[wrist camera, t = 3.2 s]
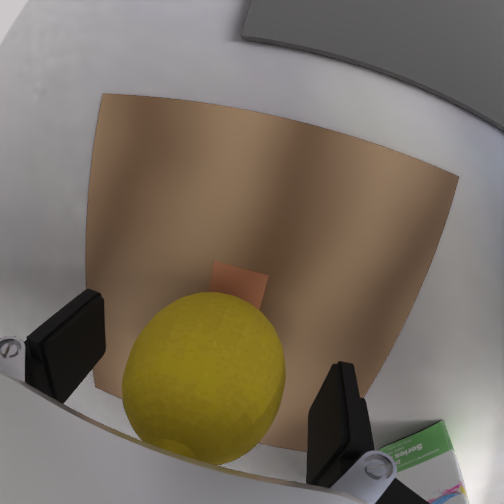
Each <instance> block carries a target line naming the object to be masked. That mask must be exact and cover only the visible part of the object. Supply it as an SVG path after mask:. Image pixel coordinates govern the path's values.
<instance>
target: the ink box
mask: <svg viewBox="0 0 504 504" xmlns="http://www.w3.org/2000/svg"><path fill="white" fill-rule="evenodd" d="M380 451H381V452H384V453H386V454H388V455H389V456H390V457H392V458H393V460H394V461H395V463H396V466H397V474H396V476H395V478H397V479H398V480H399V481H401V482H402V483H403V484H405V485H406V486H407V487H408V488H410V489H411V490H412V491H414V492H415V493H416V494H418V495H419V496H420V497H422V498H423V499H424V500H426V501H427V502H429V503H430V504H469V501H468V496H467V492H466V488H465V484H464V480H463V477H462V473H461V470H460V467H459V463H458V460H457V457H456V454H455V451H454V449H453V446H452V443H451V440H450V437H449V435H448V432H447V429H446V426H445V422H444V420H442V421H440V422H438V423H437V424H435V425H432V426H431V427H429V428H427V429H425V430H423V431H420V432H418V433H416V434H414V435H412V436H409V437H407V438H404V439H402V440H399V441H397V442H395V443H392V444H390V445H387V446H385V447H382V448H381V449H380Z"/></svg>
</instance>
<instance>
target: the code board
mask: <svg viewBox="0 0 504 504" xmlns="http://www.w3.org/2000/svg"><path fill="white" fill-rule="evenodd" d="M458 179H459V177H458V176H456V175H454V174H452V173H449V172H447V171H445V170H442V169H440V168H438V167H435V166H433V165H431V164H428V163H426V162H423V161H421V160H418V159H416V158H413V157H410V156H408V155H405V154H402V153H400V152H397V151H394V150H392V149H389V148H386V147H383V146H380V145H377V144H374V143H371V142H368V141H365V140H362V139H359V138H356V137H353V136H349V135H346V134H343V133H339V132H336V131H332V130H329V129H325V128H322V127H318V126H314V125H310V124H307V123H303V122H299V121H295V120H290V119H286V118H282V117H278V116H273V115H268V114H264V113H259V112H254V111H249V110H244V109H238V108H233V107H227V106H221V105H215V104H208V103H201V102H194V101H187V100H179V99H170V98H160V97H149V96H136V95H120V94H103V96H102V100H101V105H100V111H99V116H98V122H97V128H96V134H95V140H94V147H93V155H92V163H91V172H90V181H89V192H88V206H87V224H86V289H92V290H94V291H97V292H100V293H101V295H102V297H103V298H104V311H105V336H106V351H105V354H104V355H103V357H102V358H101V359H100V360H99V361H98V363H97V364H96V365H95V366H94V367H93V374H94V380H95V387H96V388H99V389H101V390H103V391H105V392H107V393H109V394H112V395H114V396H116V397H118V398H121V399H123V397H122V378H123V374H124V370H125V366H126V363H127V360H128V357H129V354H130V351H131V349H132V347H133V344H134V342H135V340H136V339H137V337H138V335H139V334H140V332H141V331H142V330H143V329H144V327H145V326H146V325H147V324H148V323H149V321H150V320H151V319H152V318H153V317H154V316H155V315H156V314H157V313H158V312H159V311H160V310H162V309H163V308H165V307H166V306H168V305H169V304H171V303H173V302H174V301H176V300H178V299H180V298H182V297H185V296H189V295H193V294H197V293H201V292H219V293H224V294H228V295H233V296H236V297H238V298H240V299H242V300H245V301H247V302H249V303H250V304H251V305H253V306H254V307H255V308H257V309H258V310H259V311H261V312H262V313H263V314H264V315H265V317H266V318H267V319H268V320H269V321H270V323H271V324H272V325H273V327H274V328H275V330H276V333H277V335H278V337H279V339H280V341H281V344H282V347H283V352H284V359H285V367H286V381H285V387H284V391H283V396H282V400H281V404H280V407H279V410H278V412H277V415H276V417H275V419H274V421H273V423H272V425H271V426H270V428H269V430H268V431H267V432H266V434H265V435H264V437H263V438H262V439H261V440H260V442H259V443H261V444H265V445H270V446H275V447H280V448H286V449H291V450H297V451H304V452H307V441H308V413H309V409H310V407H311V405H312V403H313V402H314V400H315V398H316V396H317V394H318V392H319V390H320V388H321V386H322V384H323V382H324V380H325V378H326V376H327V374H328V372H329V370H330V368H331V366H332V364H337V363H338V361H343V362H348V363H353V364H354V368H355V373H356V378H357V383H358V389H359V394H360V398H364V396H365V394H366V393H367V391H368V389H369V388H370V386H371V384H372V383H373V381H374V379H375V378H376V376H377V374H378V373H379V371H380V369H381V367H382V365H383V364H384V362H385V360H386V358H387V356H388V355H389V353H390V351H391V349H392V347H393V345H394V343H395V341H396V339H397V337H398V336H399V334H400V332H401V330H402V328H403V326H404V323H405V321H406V319H407V317H408V315H409V313H410V311H411V309H412V307H413V304H414V302H415V300H416V298H417V295H418V293H419V291H420V289H421V286H422V284H423V282H424V279H425V277H426V274H427V272H428V269H429V267H430V264H431V262H432V259H433V257H434V254H435V251H436V249H437V246H438V243H439V240H440V238H441V235H442V232H443V229H444V226H445V223H446V220H447V217H448V214H449V210H450V207H451V204H452V201H453V197H454V194H455V190H456V187H457V183H458Z"/></svg>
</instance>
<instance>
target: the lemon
mask: <svg viewBox="0 0 504 504" xmlns="http://www.w3.org/2000/svg"><path fill="white" fill-rule="evenodd" d="M285 381H286V367H285V359H284V352H283V347H282V344H281V341H280V339H279V337H278V335H277V333H276V330H275V328H274V327H273V325H272V324H271V323H270V321H269V320H268V319H267V318H266V317H265V315H264V314H263V313H262V312H261V311H259V310H258V309H257V308H255V307H254V306H253V305H251V304H250V303H249V302H247V301H245V300H242V299H240V298H238V297H236V296H233V295H228V294H224V293H219V292H201V293H197V294H193V295H189V296H185V297H182V298H180V299H178V300H176V301H174V302H173V303H171V304H169V305H168V306H166V307H165V308H163V309H162V310H160V311H159V312H158V313H157V314H156V315H155V316H154V317H153V318H152V319H151V320H150V321H149V323H148V324H147V325H146V326H145V327H144V329H143V330H142V331H141V332H140V334H139V335H138V337H137V339H136V340H135V342H134V344H133V347H132V349H131V351H130V354H129V357H128V360H127V363H126V366H125V370H124V374H123V378H122V397H123V405H124V409H125V412H126V415H127V417H128V419H129V422H130V424H131V426H132V428H133V429H134V431H135V432H136V434H137V435H138V436H139V438H140V439H141V440H142V441H143V442H146V443H148V444H151V445H153V446H156V447H159V448H162V449H164V450H167V451H170V452H173V453H176V454H179V455H182V456H185V457H189V458H192V459H195V460H198V461H202V462H205V463H209V464H212V465H216V466H217V465H221V464H224V463H228V462H231V461H233V460H236V459H238V458H240V457H241V456H243V455H244V454H246V453H248V452H249V451H250V450H252V449H253V448H254V447H255V446H256V445H257V444H258V443H259V442H260V440H261V439H262V438H263V437H264V435H265V434H266V432H267V431H268V430H269V428H270V426H271V425H272V423H273V421H274V419H275V417H276V415H277V412H278V410H279V407H280V404H281V400H282V396H283V391H284V387H285Z"/></svg>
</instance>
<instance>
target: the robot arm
mask: <svg viewBox="0 0 504 504" xmlns="http://www.w3.org/2000/svg"><path fill="white" fill-rule="evenodd" d="M105 351H106V336H105V311H104V298H103V297H102V295H101V293H100V292H97V291H94V290H92V289H86V290H85V291H83V292H82V293H81V294H80V295H78V296H77V297H76V298H74V299H73V300H72V301H71V302H69V303H68V304H67V305H65V306H64V307H63V308H62V309H60V310H59V311H58V312H57V313H55V314H54V315H53V316H52V317H50V318H49V319H48V320H47V321H46V322H44V323H43V324H42V325H41V326H39V327H38V328H37V329H36V330H35V331H33V332H32V333H31V334H30V335H29V336H27V340H26V341H25V342H23V341H22V340H21V339H20V338H18V337H15V336H6V337H3V338H0V504H430V503H429V502H427V501H426V500H424V499H423V498H422V497H420V496H419V495H418V494H416V493H415V492H414V491H412V490H411V489H410V488H408V487H407V486H406V485H405V484H403V483H402V482H401V481H399V480H398V479H397V478H395V476H396V474H397V466H396V463H395V461H394V460H393V458H392V457H390V456H389V455H388V454H386V453H384V452H381V451H375V450H374V444H373V438H372V432H371V426H370V421H369V415H368V410H367V405H366V401H365V399H364V398H360V394H359V389H358V383H357V378H356V373H355V368H354V364H353V363H348V362H343V361H338V363H337V364H332V366H331V368H330V370H329V372H328V374H327V376H326V378H325V380H324V382H323V384H322V386H321V388H320V390H319V392H318V394H317V396H316V398H315V400H314V402H313V403H312V405H311V407H310V409H309V413H308V441H307V474H306V483H307V484H303V483H298V482H291V481H285V480H280V479H274V478H269V477H264V476H259V475H254V474H249V473H245V472H240V471H236V470H232V469H228V468H224V467H220V466H216V465H212V464H209V463H205V462H202V461H198V460H195V459H192V458H189V457H185V456H182V455H179V454H176V453H173V452H170V451H167V450H164V449H162V448H159V447H156V446H153V445H151V444H148V443H146V442H143V441H140V440H138V439H135V438H133V437H131V436H128V435H126V434H123V433H121V432H119V431H117V430H114V429H112V428H110V427H108V426H105V425H103V424H101V423H99V422H97V421H95V420H93V419H91V418H89V417H87V416H85V415H83V414H81V413H79V412H77V411H75V410H73V409H71V408H69V407H67V406H66V405H64V404H63V403H64V402H65V401H66V400H67V399H68V398H69V396H70V395H71V394H72V393H73V391H74V390H75V389H76V388H77V387H78V385H79V384H80V383H81V382H82V381H83V379H84V378H85V377H86V376H87V374H88V373H89V372H90V371H91V370H92V369H93V367H94V366H95V365H96V364H97V363H98V361H99V360H100V359H101V358H102V357H103V355H104V354H105Z"/></svg>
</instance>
